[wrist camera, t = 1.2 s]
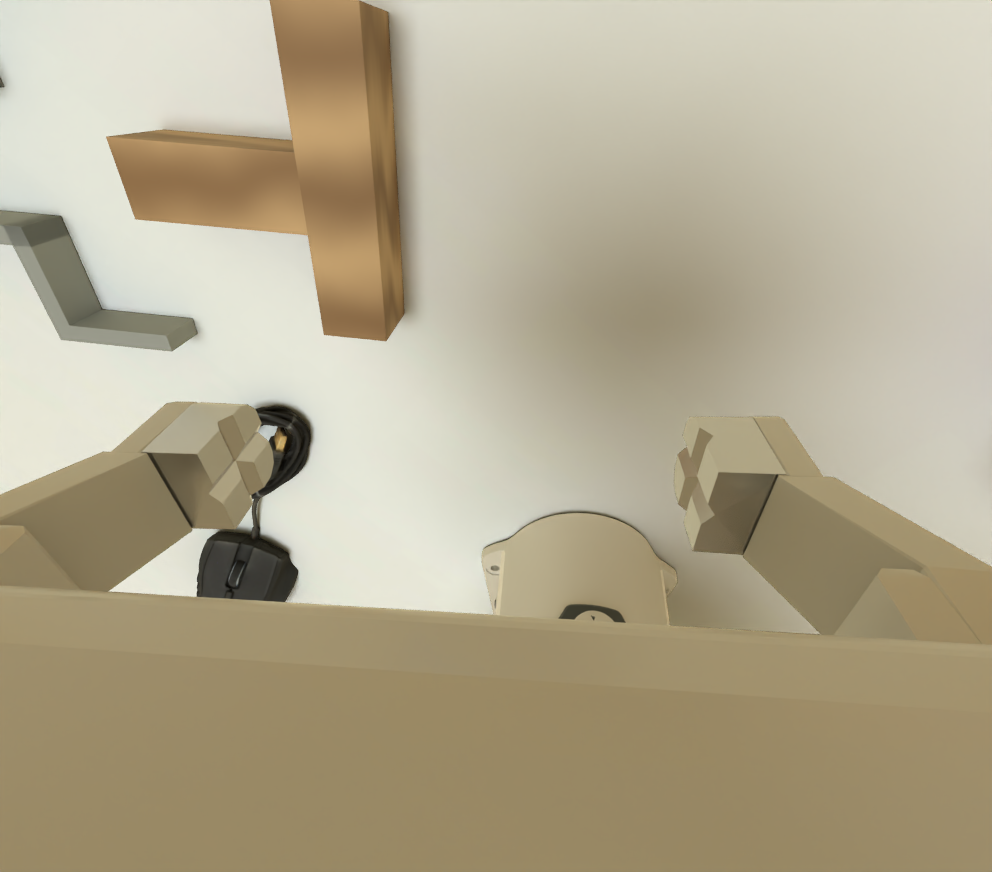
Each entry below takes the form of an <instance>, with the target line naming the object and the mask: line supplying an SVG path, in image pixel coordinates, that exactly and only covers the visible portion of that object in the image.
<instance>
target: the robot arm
mask: <svg viewBox="0 0 992 872" xmlns="http://www.w3.org/2000/svg"><path fill="white" fill-rule="evenodd" d="M260 426H261V420H260V418H259V416H258V414H257V411H256V409H255V408H253V407H251V406H249V405H248V404H227V403H205V402H199V403H197V402H171V403H166V404H165V405H164V406H163V407H162V408H161V409H160V410H158V411H157V412H156V413H155V414H154V415H153V416H152V417H150V418H149V419H148V420H147V421H146V422H145V423H144V424H142V425H141V426H140V427H139V428H138V429H137V430H136V431H134V432H133V433H132V434H131V435H130V436H129V437H128V438H126V439H125V440H124V441H123V442H122V443H121V444H120V445H118V446H117V447H116V448H115V449H114V450H113V451H112V452H101V453H99V454H96V455H94V456H92V457H89V458H87V459H84V460H82V461H80V462H77V463H75V464H72V465H70V466H68V467H65V468H63V469H60V470H58V471H56V472H53V473H51V474H49V475H46V476H44V477H41V478H39V479H37V480H34V481H32V482H29V483H27V484H25V485H22V486H20V487H17V488H15V489H13V490H10V491H8V492H5V493H3V494H1V495H0V872H992V567H991V566H989V565H987V564H986V563H984V562H982V561H980V560H979V559H977V558H975V557H973V556H971V555H970V554H968V553H966V552H964V551H963V550H961V549H959V548H957V547H956V546H954V545H952V544H950V543H949V542H947V541H945V540H943V539H942V538H940V537H938V536H936V535H934V534H933V533H931V532H929V531H927V530H926V529H924V528H922V527H920V526H919V525H917V524H915V523H913V522H912V521H910V520H908V519H906V518H905V517H903V516H901V515H899V514H897V513H896V512H894V511H892V510H890V509H889V508H887V507H885V506H883V505H882V504H880V503H878V502H876V501H875V500H873V499H871V498H869V497H868V496H866V495H864V494H862V493H860V492H859V491H857V490H855V489H853V488H852V487H850V486H848V485H846V484H845V483H843V482H841V481H839V480H838V479H836V478H834V477H823V475H822V474H821V472H820V471H819V469H818V468H817V466H816V465H815V464H814V462H813V461H812V459H811V458H810V456H809V455H808V453H807V452H806V450H805V449H804V447H803V446H802V444H801V443H800V442H799V440H798V439H797V437H796V436H795V434H794V433H793V431H792V430H791V428H790V427H789V425H788V424H787V422H786V421H785V420H784V419H782V418H780V417H779V416H768V417H689V419H688V420H687V422H686V425H685V428H684V432H683V438H684V441H685V443H686V446H687V447H686V448H685V449H684V450H682V451H681V452H680V453H679V454H678V455H677V460H676V464H675V469H674V488H675V494H676V498H677V502H678V504H679V505H680V506H681V507H683V508H684V509H685V510H686V511H687V512H686V515H685V519H684V525H685V528H686V532H687V535H688V538H689V541H690V545H691V548H692V551H699V552H713V553H726V554H740V555H743V558H745V559H746V560H747V561H748V562H749V563H750V564H751V565H752V566H753V567H754V568H755V569H756V570H757V571H758V572H759V573H760V574H761V575H762V576H763V577H764V578H765V579H766V580H767V581H768V582H769V583H770V584H771V585H772V586H773V587H774V588H775V589H776V590H777V591H778V592H779V593H780V594H781V595H782V596H783V597H784V598H785V599H786V600H787V601H788V602H789V603H790V604H791V605H792V606H793V607H794V608H795V609H796V610H797V611H798V612H799V613H800V614H801V615H802V616H803V617H804V618H805V619H806V620H807V621H808V622H809V623H810V624H811V625H812V626H813V627H814V628H815V629H816V630H817V631H818V632H819V633H820V634H821V635H819V634H803V633H786V632H770V631H753V630H737V629H720V628H703V627H687V626H670V622H669V614H668V607H667V600H666V597H667V596H668V595H669V594H670V592H671V591H672V590H673V589H674V587H675V586H676V585H677V573H676V571H675V570H674V569H673V568H672V567H671V566H669V565H668V564H666V563H665V562H663V561H662V560H660V559H659V558H658V557H657V556H656V555H655V553H654V552H653V550H652V548H651V546H650V544H649V543H648V542H647V540H646V539H645V538H644V537H643V536H642V535H641V534H640V533H639V532H638V531H636V530H635V529H633V528H632V527H630V526H629V525H627V524H625V523H623V522H620V521H618V520H615V519H612V518H609V517H605V516H601V515H596V514H587V513H568V514H560V515H554V516H550V517H546V518H543V519H540V520H538V521H535V522H533V523H531V524H529V525H528V526H526V527H524V528H523V529H521V530H520V531H519V532H518V533H516V534H515V535H514V536H513V537H511V538H510V539H508V540H506V541H503V542H499V543H496V544H493V545H490V546H488V547H486V548H485V549H483V551H482V566H483V570H484V574H485V579H486V583H487V588H488V592H489V596H490V601H491V605H492V610H493V614H494V615H489V614H473V613H456V612H440V611H423V610H406V609H390V608H373V607H357V606H340V605H323V604H307V603H290V602H274V601H257V600H240V599H224V598H207V597H191V596H174V595H157V594H141V593H124V592H108V591H109V590H111V589H112V588H113V587H115V586H116V585H118V584H119V583H120V582H122V581H123V580H125V579H126V578H127V577H129V576H130V575H131V574H133V573H134V572H136V571H137V570H138V569H140V568H141V567H143V566H144V565H145V564H147V563H148V562H149V561H151V560H152V559H154V558H155V557H156V556H158V555H159V554H161V553H162V552H163V551H165V550H166V549H168V548H169V547H170V546H172V545H173V544H174V543H176V542H177V541H179V540H180V539H181V538H183V537H184V536H186V535H187V534H188V533H190V532H191V531H192V528H203V529H236V528H237V527H238V525H239V524H240V522H241V521H242V519H243V518H244V516H245V515H246V513H247V512H248V510H249V509H250V507H251V506H252V504H253V501H252V497H251V495H252V494H254V493H255V492H257V491H259V490H260V489H262V488H264V487H265V485H266V483H267V482H268V480H269V479H270V477H271V473H272V469H273V464H274V460H273V451H272V449H271V446H270V443H269V441H268V440H267V439H265V438H264V437H263V436H262V435H261V434H260V433H258V430H259V428H260Z"/></svg>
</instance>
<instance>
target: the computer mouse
mask: <svg viewBox="0 0 992 872" xmlns="http://www.w3.org/2000/svg"><path fill="white" fill-rule="evenodd" d="M256 411H257V414H258V416H259V418H260V420H261V426H263V425H271V426H278V428H277V431H276V433H275V436H272V437H270V440H269V443H270V446H271V449H272V451H273V460H274V464H273V469H272V473H271V477H270V479H269V480H268V482H267V483H266V485H265V487H264V488H262V489H260V490H259V491H257V492H255V493H254V494H252V495H251V497H252V499H254V501H253V505H252V517H253V525H254V527H253V528H252V532H251V536H250V535H248V534H242V533H234V532H217V533H216V534H214V535H212V536H211V537H210V538H209V539H208V540H207V542H206V544H205V546H204V548H203V551H202V553H201V557H200V560H199V573H198V576H197V582H198V585H197V589H198V590H197V597H207V598H224V599H240V600H257V601H274V602H285V601H286V599H287V597H288V596H289V594H290V592H291V590H292V588H293V586H294V584H295V581H296V578H297V574H298V570H297V569H296V568H295V567H294V565H293V564H292V563H291V561H290V559H289V554H288V553H287V552H285V551H283V550H281V549H280V548H278V547H276V546H274V545H272V544H270V543H269V542H267V541H265V540H263V539H259V538H258V533H259V527H258V524H257V516H256V508H257V503H258V501H259V499H260V497H263V496H265V495H267V494H269V493H271V492H272V491H274V490H275V489H276V488H278V487H279V486H281V485H282V484H284V483H285V482H287V481H289V480H290V479H292V478H293V477H294V476H296V475H297V474H298V473H299V472H300V471H301V470H302V468H303V466H304V465H305V462H306V459H307V453H308V446H309V442H310V430H309V428H308V427H307V425H306V424H305V422H304V421H303V420H302V419H300V418H299V417H298V416H297V415H296V414H295V413H293V412H292V411H290V410H288V409H286V408H283V407H277V406H272V407H268V408H259V409H256ZM261 426H260V427H261ZM284 428H286V429H288V431H289V432H290V433H291V434H292V435H293V436H294V439H293V442H292V445H291V447H290V449H289V451H288V453H286V454H285V444H286V440H287V434H286V431H285V429H284ZM284 454H285V455H284Z"/></svg>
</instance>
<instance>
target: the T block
mask: <svg viewBox="0 0 992 872" xmlns="http://www.w3.org/2000/svg"><path fill="white" fill-rule="evenodd" d="M270 5H271V11H272V17H273V23H274V30H275V36H276V42H277V48H278V54H279V60H280V67H281V73H282V79H283V85H284V91H285V97H286V104H287V110H288V116H289V122H290V128H291V134H292V140H281V139H269V138H257V137H245V136H233V135H221V134H209V133H197V132H185V131H173V130H156V131H148V132H140V133H132V134H124V135H116V136H108V137H106V138H107V141H108V144H109V146H110V149H111V152H112V155H113V158H114V160H115V163H116V166H117V169H118V172H119V174H120V177H121V180H122V183H123V186H124V188H125V191H126V194H127V197H128V200H129V202H130V205H131V208H132V211H133V214H134V216H135V219H138V220H149V221H160V222H171V223H181V224H192V225H203V226H214V227H225V228H236V229H247V230H258V231H268V232H279V233H290V234H301V235H308V239H309V246H310V252H311V258H312V264H313V270H314V276H315V283H316V289H317V295H318V301H319V307H320V313H321V320H322V326H323V332H324V335H331V336H340V337H350V338H360V339H370V340H380V341H387V339H388V338H389V336H390V335H391V333H392V332H393V330H394V329H395V327H396V326H397V324H398V323H399V321H400V319H401V318H402V316H403V315H404V297H403V279H402V260H401V242H400V223H399V205H398V186H397V168H396V149H395V131H394V112H393V94H392V75H391V56H390V38H389V19H388V12H387V11H384V10H382V9H379V8H377V7H374V6H372V5H369V4H367V3H364V2H362V1H359V0H270Z"/></svg>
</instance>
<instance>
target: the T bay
mask: <svg viewBox="0 0 992 872" xmlns="http://www.w3.org/2000/svg"><path fill="white" fill-rule="evenodd" d="M0 87H4V86H3V83H2V81H1V79H0ZM0 244H5V245H13V247H14V249H15V251H16V253H17V254H18V256H19V258H20V260H21V262H22V264H23V266H24V268H25V270H26V272H27V274H28V276H29V278H30V280H31V282H32V284H33V286H34V288H35V290H36V292H37V294H38V296H39V297H40V299H41V301H42V303H43V305H44V307H45V309H46V311H47V313H48V315H49V317H50V319H51V321H52V323H53V325H54V327H55V329H56V331H57V333H58V335H59V337H60V339H61V340H68V341H77V342H87V343H96V344H106V345H116V346H125V347H135V348H144V349H154V350H163V351H173V350H175V349H176V348H178V347H179V346H180V345H182V344H183V343H185V342H186V341H188V340H189V339H190V338H192V337H193V336H195V335H196V334H197V331H196V328H195V325H194V322H193V319H192V318H182V317H172V316H162V315H152V314H143V313H133V312H123V311H113V310H103V309H101V306H100V304H99V302H98V299H97V297H96V295H95V293H94V290H93V288H92V286H91V284H90V281H89V279H88V277H87V274H86V272H85V270H84V268H83V265H82V263H81V261H80V259H79V256H78V254H77V252H76V249H75V247H74V245H73V243H72V240H71V238H70V236H69V234H68V231H67V229H66V227H65V224H64V222H63V220H62V218H61V216H55V215H44V214H34V213H23V212H12V211H1V210H0Z"/></svg>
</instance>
